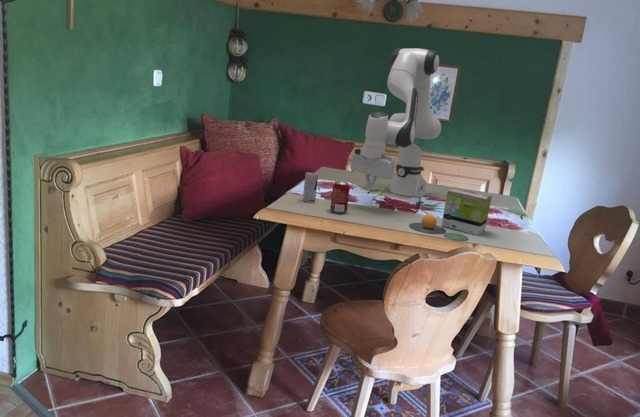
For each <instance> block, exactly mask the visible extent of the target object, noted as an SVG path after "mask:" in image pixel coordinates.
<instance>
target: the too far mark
mask: <svg viewBox="0 0 640 417" xmlns="http://www.w3.org/2000/svg"><path fill="white" fill-rule="evenodd" d="M443 237H445V238H447V239H449V240H453V241H459V242H466V241H468V240H469V236H466V235H464V234H460V233H456V232H446V233H443Z"/></svg>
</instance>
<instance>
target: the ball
mask: <svg viewBox="0 0 640 417" xmlns="http://www.w3.org/2000/svg"><path fill="white" fill-rule="evenodd" d="M421 223H422V225H423V226H424V227H425V228H427V229H432V228H434V227H435V225H437V218H436V217H435V216H434V215H433V214H432V213H431V214H428V213H427V214H425V215H424V216H422V218H421Z"/></svg>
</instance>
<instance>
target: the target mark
mask: <svg viewBox="0 0 640 417" xmlns="http://www.w3.org/2000/svg"><path fill="white" fill-rule="evenodd" d="M408 226H409V228H410V229H412V230H413V231H417V232H420V233H424V234H432V235H444V233H447V230H446V229H445V227H443V226H439V225H437V224H436V225H435V227H434V228H432V229H427V228H425V227H424V226H423V225H422V222H411V223H409V225H408Z"/></svg>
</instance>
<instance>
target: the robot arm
mask: <svg viewBox="0 0 640 417" xmlns="http://www.w3.org/2000/svg"><path fill="white" fill-rule="evenodd" d="M389 66H390V72H389V73H388V76H387V82H386V84H387V89H388V90H389V92H390V93H391V94H392V95H393V96H394V97H396V98H397V99H399V100H401V101H403V102H404V103H405V104H406V105H405V106H406V107H405V112H398V113H393V114H392V115H391V116H390V118H389V115H388V113H385V112H383V111H382V112H381V111H374V112H371V113H370V114H369V115H368V119H367V122H366V128H365V141H364V142H363V143H364V144H363V146H362V147H357V148H353V149H352V153H353V154H352V155H351V159H350V168H349V169H351V171H352V172H355V173H356V172H357V173H360V174H364V179H365V185H366V186H370V187H374V186H375V182H376V181H377V179H378V178H381V179H384V180H391V184H390V186H389V187H388V190H389V191H390V192H391V193H392V194H395V195H400V196H406V197H415V198H423V197H425V196H427V195H429V194H431V191H430V190H427V181H426V179H425V178H424V177H423V176H422V172H423V171H424V172H425V167H424V166H421V162H422V157H423V156H422V154H423V152H422V149H421V148H420V146H418V145H417V144H415V143H414V140H415V138H416V139H422V140H434V139H437V138H438V137H439V135H440V134H441V131H442V123H441V121H440V119H438V118H437V117H436V116H435V114H434V113H433V110H432V108H431V106H430V105H431V104H430V88H431V75H433V74H434V73H436V72H437V71H438V69H439V66H440V56H439V53H438V51H435V50H433V49H426V48H418V47H416V48H409V47H407V48H403V47H400V48H399V47H398V48H395V49H394V50H393V51H392V52H391V54H390V58H389ZM387 145H392V146H396V147H398V158H397V163H396V166H395V162H396V160H395V159H394V158H393V156H392V155H386V147H387ZM370 177H371V178H370Z"/></svg>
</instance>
